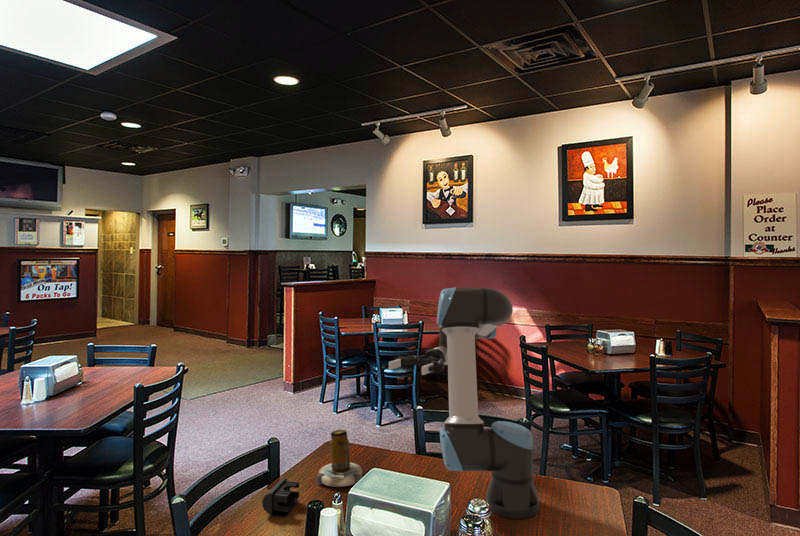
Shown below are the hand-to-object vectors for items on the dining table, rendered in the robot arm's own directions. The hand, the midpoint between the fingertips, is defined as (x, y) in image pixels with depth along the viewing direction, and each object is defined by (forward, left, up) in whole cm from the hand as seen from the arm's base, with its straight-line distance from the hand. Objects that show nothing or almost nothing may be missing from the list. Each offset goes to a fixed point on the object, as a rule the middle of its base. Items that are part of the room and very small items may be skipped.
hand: (405, 368), depth 160 cm
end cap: (+35, +26, -35) cm, 56 cm away
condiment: (+21, +8, -32) cm, 39 cm away
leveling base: (+21, +7, -35) cm, 42 cm away
